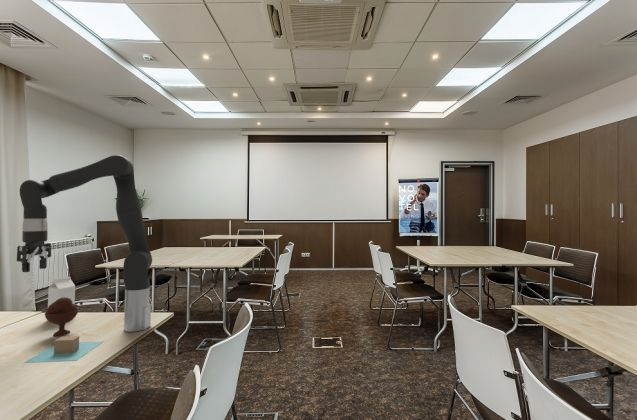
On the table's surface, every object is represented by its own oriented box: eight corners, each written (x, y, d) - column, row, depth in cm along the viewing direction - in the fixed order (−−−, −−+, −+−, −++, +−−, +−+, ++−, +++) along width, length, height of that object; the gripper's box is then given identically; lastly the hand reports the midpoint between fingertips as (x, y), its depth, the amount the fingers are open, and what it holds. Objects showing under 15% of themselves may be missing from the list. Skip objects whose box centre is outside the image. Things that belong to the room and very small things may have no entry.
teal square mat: (103, 343, 120) (103, 329, 120) (76, 362, 104) (76, 346, 104) (57, 345, 118) (58, 330, 118) (23, 365, 102) (23, 348, 102)
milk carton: (74, 317, 148) (75, 277, 148) (57, 322, 141) (59, 280, 142) (64, 315, 150) (65, 276, 151) (47, 320, 143) (48, 278, 144)
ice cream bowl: (85, 329, 132) (86, 294, 133) (61, 339, 121) (62, 301, 122) (62, 328, 133) (63, 293, 134) (36, 338, 122) (37, 299, 123)
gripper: (31, 230, 119) (30, 273, 119) (58, 229, 133) (57, 267, 133) (9, 230, 118) (9, 273, 118) (38, 229, 133) (38, 267, 132)
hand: (34, 270), depth 126 cm, fingers open, 8 cm apart
